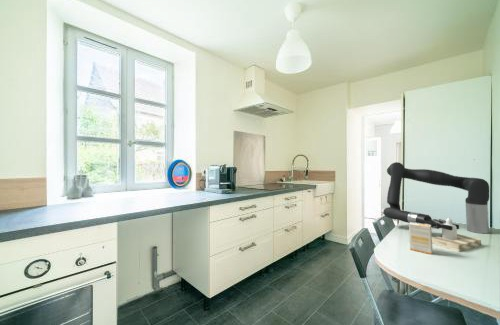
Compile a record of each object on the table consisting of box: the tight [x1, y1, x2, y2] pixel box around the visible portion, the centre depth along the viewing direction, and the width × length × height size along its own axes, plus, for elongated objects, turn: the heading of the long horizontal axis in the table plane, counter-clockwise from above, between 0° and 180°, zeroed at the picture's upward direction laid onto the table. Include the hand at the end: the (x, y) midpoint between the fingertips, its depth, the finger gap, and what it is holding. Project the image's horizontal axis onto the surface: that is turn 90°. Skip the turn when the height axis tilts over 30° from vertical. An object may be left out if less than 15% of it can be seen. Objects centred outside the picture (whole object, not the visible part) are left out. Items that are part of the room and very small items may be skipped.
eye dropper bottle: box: [441, 216, 458, 240], centre depth 108 cm, size 4×6×12 cm
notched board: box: [432, 233, 482, 253], centre depth 106 cm, size 20×11×3 cm, turn 110°
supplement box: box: [408, 222, 433, 255], centre depth 99 cm, size 8×5×13 cm, turn 43°
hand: (455, 227), depth 106 cm, fingers closed on eye dropper bottle, 5 cm apart
